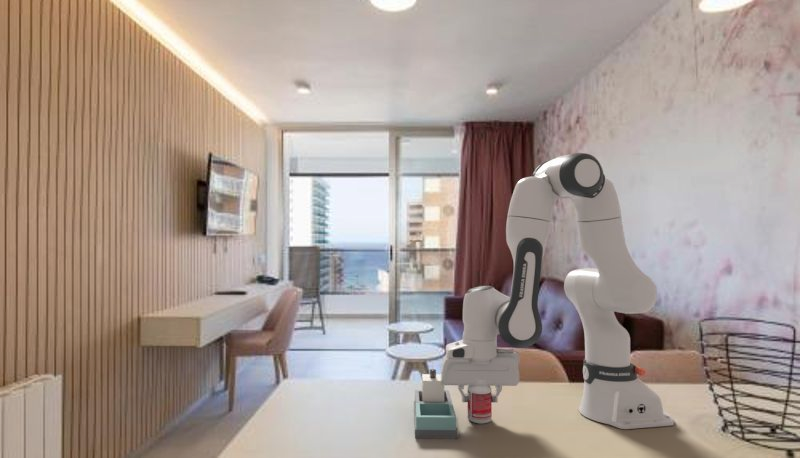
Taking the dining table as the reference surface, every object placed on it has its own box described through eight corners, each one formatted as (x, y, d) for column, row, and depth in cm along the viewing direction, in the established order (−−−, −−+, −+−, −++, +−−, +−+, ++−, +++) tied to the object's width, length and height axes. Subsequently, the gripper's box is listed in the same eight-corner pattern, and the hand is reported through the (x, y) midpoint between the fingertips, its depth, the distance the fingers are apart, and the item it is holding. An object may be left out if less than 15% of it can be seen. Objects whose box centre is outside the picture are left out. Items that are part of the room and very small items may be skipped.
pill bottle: (496, 421, 115) (496, 378, 115) (479, 426, 112) (479, 382, 112) (479, 412, 120) (479, 371, 120) (462, 418, 117) (462, 375, 117)
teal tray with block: (449, 408, 123) (449, 365, 123) (457, 438, 105) (457, 387, 105) (413, 408, 123) (413, 364, 123) (415, 438, 105) (415, 387, 105)
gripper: (516, 345, 119) (516, 397, 119) (440, 345, 119) (439, 396, 119) (522, 351, 113) (522, 406, 112) (442, 351, 113) (441, 405, 113)
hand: (479, 401), depth 116 cm, fingers closed on pill bottle, 6 cm apart
